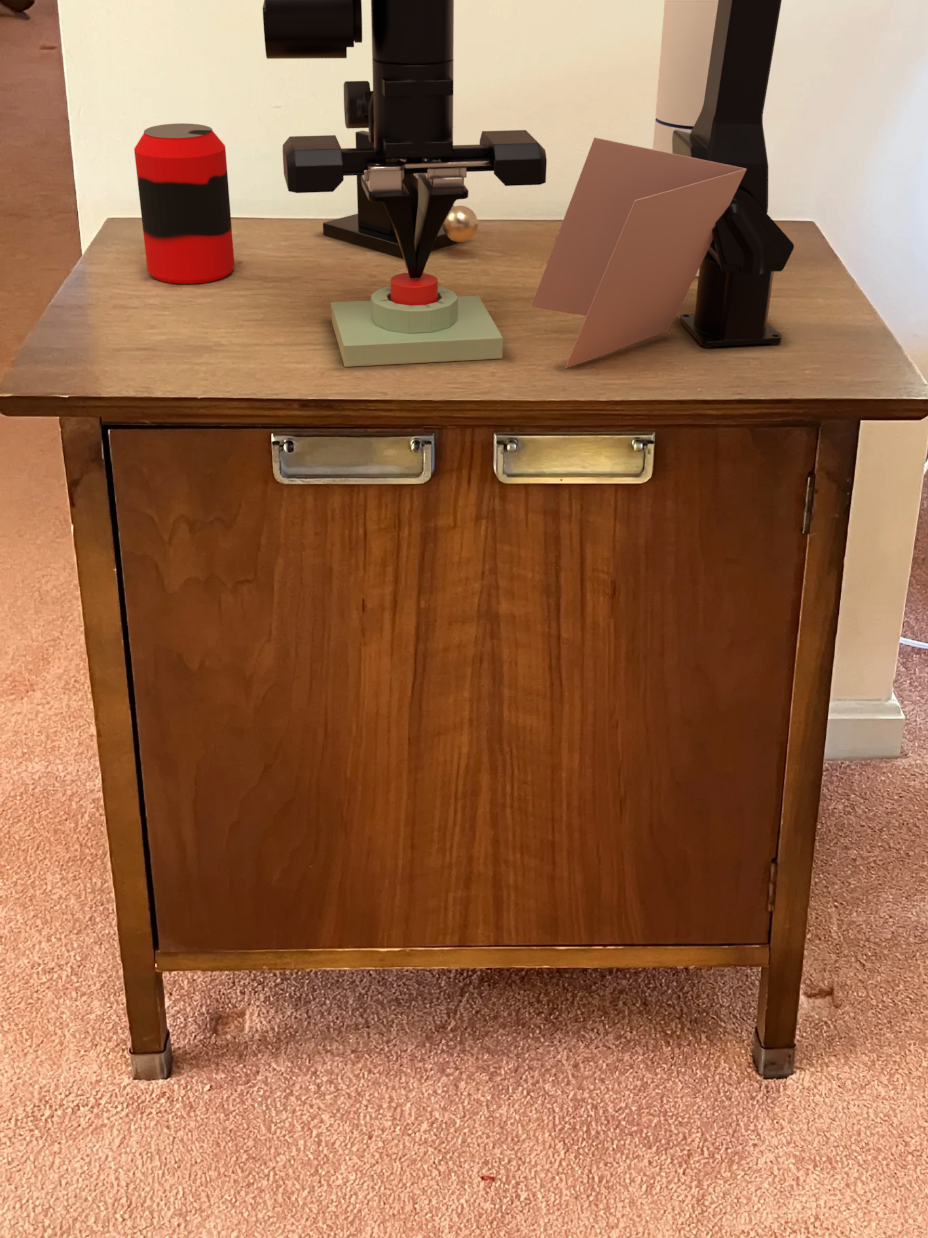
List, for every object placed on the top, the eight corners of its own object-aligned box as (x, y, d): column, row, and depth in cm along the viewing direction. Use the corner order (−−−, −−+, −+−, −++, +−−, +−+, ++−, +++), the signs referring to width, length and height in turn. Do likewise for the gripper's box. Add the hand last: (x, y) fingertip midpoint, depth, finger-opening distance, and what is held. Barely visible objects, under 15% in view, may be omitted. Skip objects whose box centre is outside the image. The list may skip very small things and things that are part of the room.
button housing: (502, 358, 103) (503, 314, 101) (344, 367, 101) (342, 321, 100) (478, 315, 112) (479, 273, 110) (331, 322, 110) (330, 279, 108)
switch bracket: (463, 241, 130) (465, 134, 125) (404, 258, 125) (403, 148, 120) (382, 219, 136) (380, 116, 131) (322, 235, 131) (318, 128, 126)
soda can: (215, 288, 117) (202, 143, 111) (133, 281, 118) (116, 137, 112) (247, 262, 123) (237, 124, 117) (169, 256, 125) (155, 118, 118)
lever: (476, 245, 126) (490, 218, 123) (452, 252, 124) (466, 225, 121) (388, 153, 129) (400, 125, 126) (364, 158, 127) (375, 130, 124)
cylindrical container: (631, 269, 123) (655, -38, 110) (660, 248, 128) (685, -46, 115) (707, 281, 120) (740, -32, 107) (733, 260, 125) (767, -41, 112)
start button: (441, 308, 104) (441, 285, 103) (394, 310, 103) (393, 287, 102) (433, 293, 107) (433, 271, 106) (388, 295, 106) (387, 273, 105)
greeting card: (667, 322, 109) (744, 161, 97) (681, 387, 104) (764, 226, 93) (530, 298, 106) (592, 130, 94) (538, 363, 101) (605, 194, 90)
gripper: (518, 37, 104) (512, 242, 112) (272, 41, 101) (284, 251, 109) (552, 63, 95) (543, 284, 103) (282, 68, 92) (294, 295, 100)
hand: (414, 276), depth 104 cm, fingers closed
